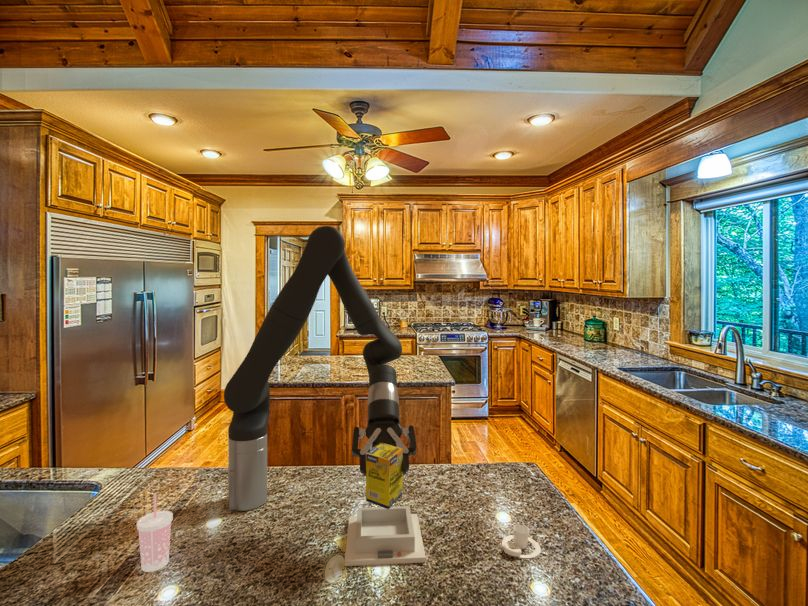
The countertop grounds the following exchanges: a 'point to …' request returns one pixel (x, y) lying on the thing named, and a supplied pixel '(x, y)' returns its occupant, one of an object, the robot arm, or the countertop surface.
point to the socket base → (384, 537)
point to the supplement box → (384, 475)
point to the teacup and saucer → (520, 542)
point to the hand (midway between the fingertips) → (384, 474)
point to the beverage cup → (154, 539)
